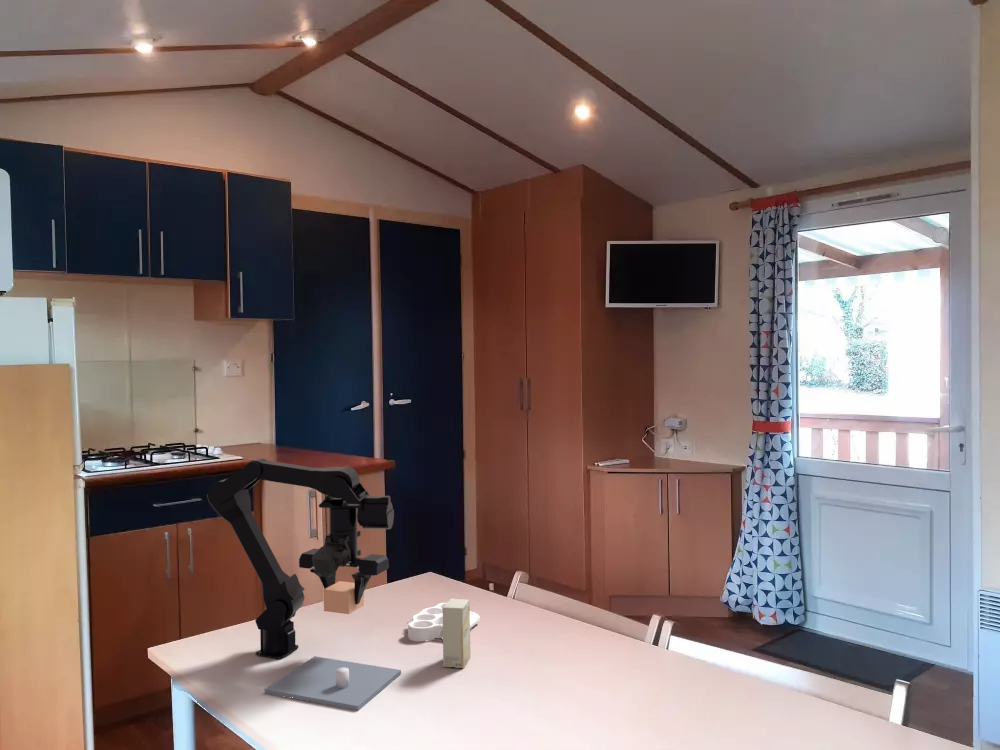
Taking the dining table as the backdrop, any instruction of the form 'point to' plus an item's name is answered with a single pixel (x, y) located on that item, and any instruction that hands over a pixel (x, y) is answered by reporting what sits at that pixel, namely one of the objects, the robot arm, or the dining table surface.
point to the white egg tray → (431, 623)
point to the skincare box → (456, 633)
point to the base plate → (334, 682)
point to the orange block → (341, 598)
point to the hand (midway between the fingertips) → (344, 602)
